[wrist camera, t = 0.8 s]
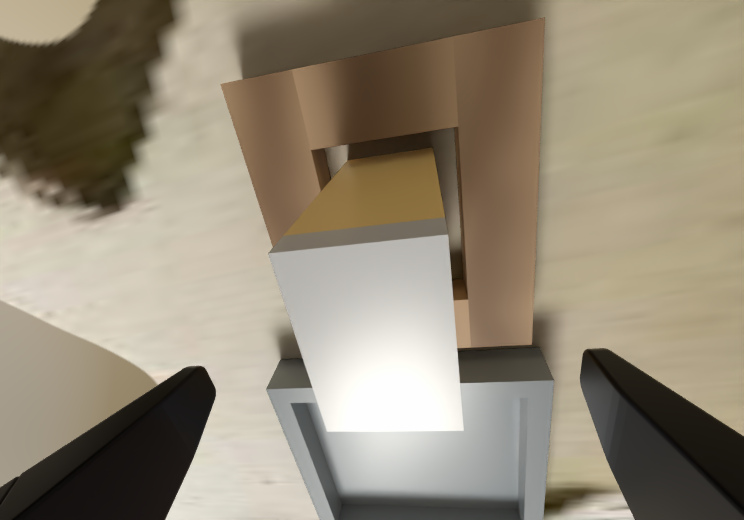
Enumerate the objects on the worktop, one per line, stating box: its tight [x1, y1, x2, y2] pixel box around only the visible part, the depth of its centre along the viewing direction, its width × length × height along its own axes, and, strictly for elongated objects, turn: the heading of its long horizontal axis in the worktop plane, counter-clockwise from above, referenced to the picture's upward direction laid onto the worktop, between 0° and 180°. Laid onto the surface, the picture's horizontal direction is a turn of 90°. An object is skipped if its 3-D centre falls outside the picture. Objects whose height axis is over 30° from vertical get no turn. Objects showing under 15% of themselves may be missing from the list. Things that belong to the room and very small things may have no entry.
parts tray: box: [266, 348, 554, 520], centre depth 24 cm, size 16×16×2 cm
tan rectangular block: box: [268, 148, 464, 432], centre depth 13 cm, size 4×6×10 cm, turn 10°
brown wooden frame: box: [221, 18, 545, 348], centre depth 17 cm, size 12×14×2 cm
